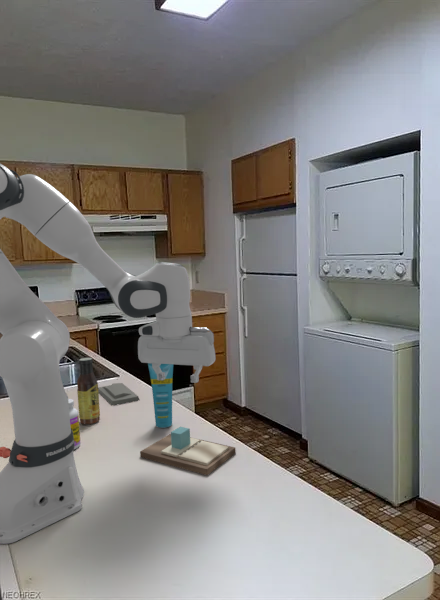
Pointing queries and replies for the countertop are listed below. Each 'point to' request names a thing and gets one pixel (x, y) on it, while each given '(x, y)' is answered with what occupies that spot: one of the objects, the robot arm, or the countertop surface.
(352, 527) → the countertop surface
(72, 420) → the supplement bottle
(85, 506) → the countertop surface
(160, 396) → the tube
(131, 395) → the soap mold
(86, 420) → the sauce bottle
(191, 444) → the panel
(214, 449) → the board
